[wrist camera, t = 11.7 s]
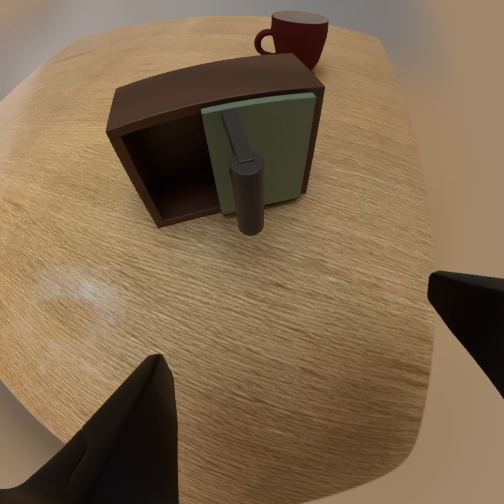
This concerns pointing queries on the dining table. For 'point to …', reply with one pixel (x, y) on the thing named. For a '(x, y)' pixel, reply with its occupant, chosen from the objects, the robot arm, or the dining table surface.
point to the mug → (296, 36)
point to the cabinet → (194, 127)
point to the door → (258, 153)
